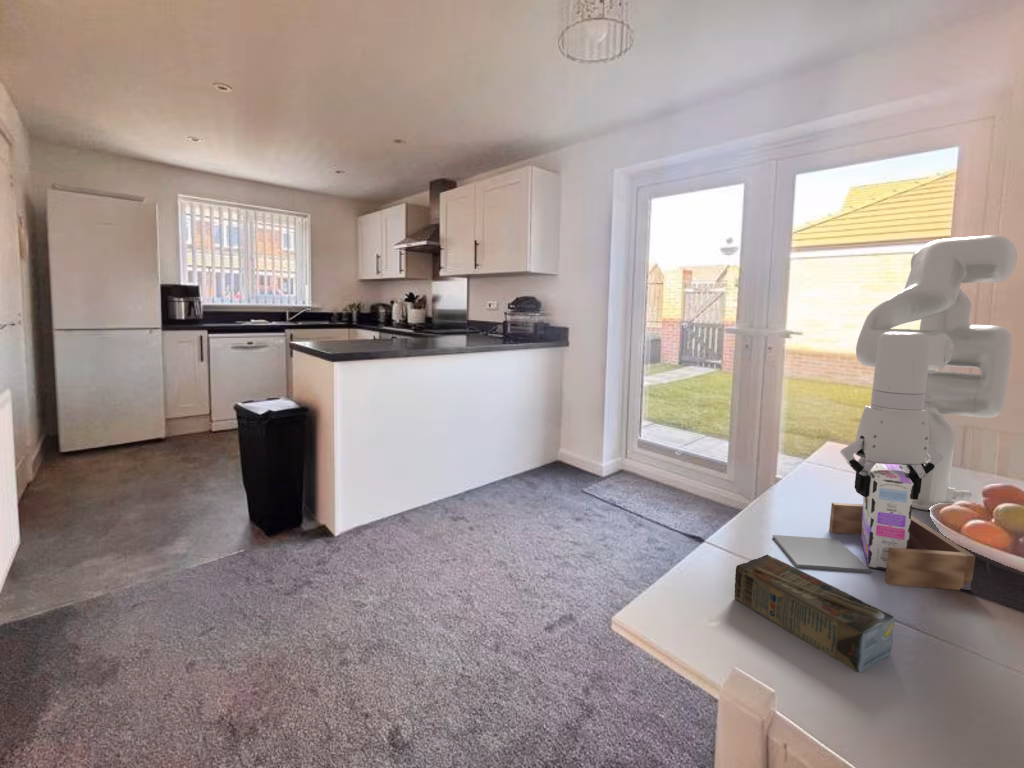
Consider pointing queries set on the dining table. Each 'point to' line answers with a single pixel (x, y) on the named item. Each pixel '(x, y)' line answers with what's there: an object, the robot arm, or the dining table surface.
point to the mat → (820, 553)
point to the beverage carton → (815, 612)
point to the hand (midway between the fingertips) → (886, 495)
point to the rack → (914, 553)
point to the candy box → (886, 513)
